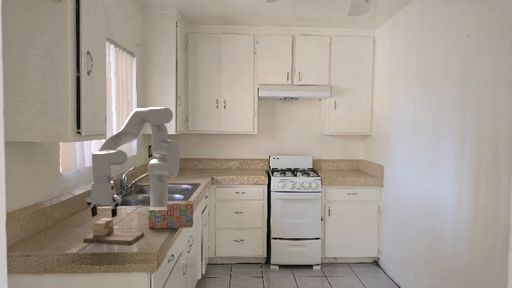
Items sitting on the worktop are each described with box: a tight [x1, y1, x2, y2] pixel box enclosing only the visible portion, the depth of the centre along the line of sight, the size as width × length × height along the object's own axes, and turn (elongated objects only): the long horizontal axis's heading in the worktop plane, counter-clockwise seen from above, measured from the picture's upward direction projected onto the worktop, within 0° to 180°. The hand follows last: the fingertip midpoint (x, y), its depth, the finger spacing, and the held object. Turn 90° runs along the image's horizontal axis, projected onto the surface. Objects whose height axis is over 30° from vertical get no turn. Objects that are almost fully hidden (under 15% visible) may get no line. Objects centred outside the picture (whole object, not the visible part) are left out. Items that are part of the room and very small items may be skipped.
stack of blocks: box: [147, 200, 194, 229], centre depth 173 cm, size 21×6×12 cm, turn 96°
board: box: [82, 230, 145, 245], centre depth 155 cm, size 12×22×2 cm, turn 82°
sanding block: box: [92, 217, 114, 237], centre depth 157 cm, size 8×5×6 cm, turn 172°
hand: (104, 216), depth 157 cm, fingers open, 9 cm apart
